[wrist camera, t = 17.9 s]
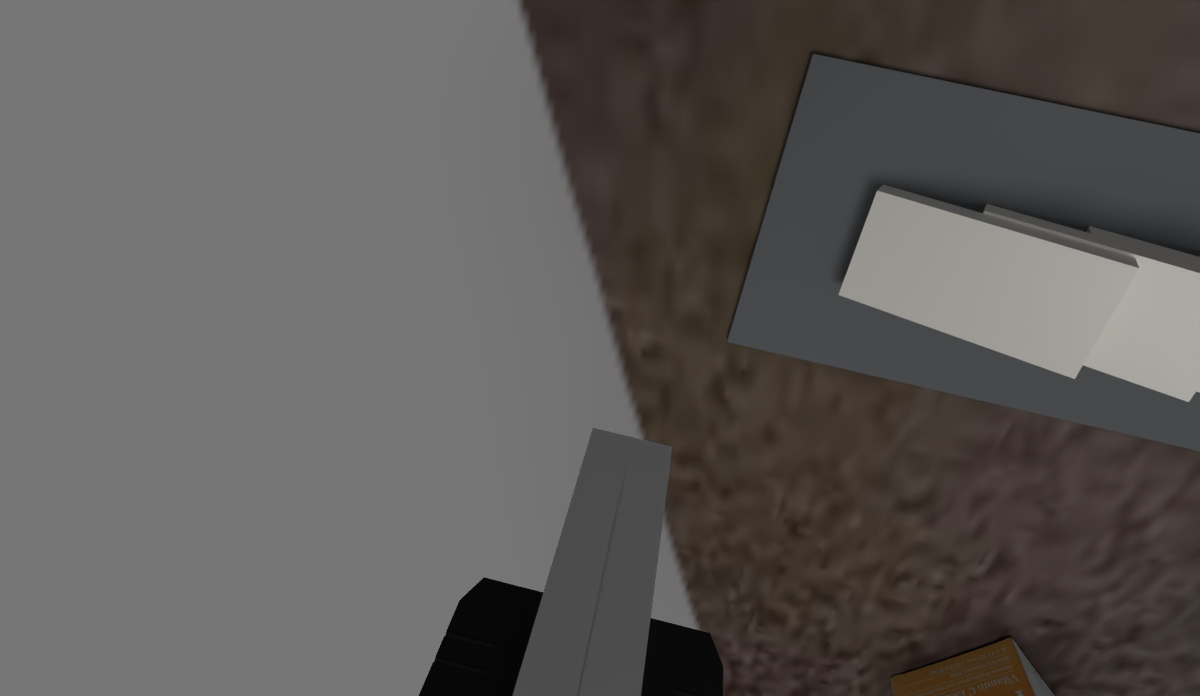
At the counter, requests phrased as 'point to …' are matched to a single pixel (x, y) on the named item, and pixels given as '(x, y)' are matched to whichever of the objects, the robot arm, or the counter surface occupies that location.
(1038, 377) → the mat
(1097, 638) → the counter surface
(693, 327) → the counter surface
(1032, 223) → the domino
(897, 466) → the counter surface
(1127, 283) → the end domino
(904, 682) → the small box
